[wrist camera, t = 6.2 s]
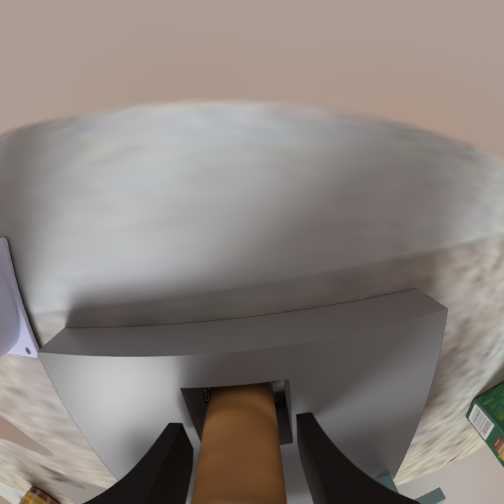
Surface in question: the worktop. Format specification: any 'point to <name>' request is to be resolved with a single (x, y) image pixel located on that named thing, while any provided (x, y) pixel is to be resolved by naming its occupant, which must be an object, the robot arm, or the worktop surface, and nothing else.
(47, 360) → the socket stand
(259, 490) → the peg
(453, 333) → the worktop surface
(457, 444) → the worktop surface
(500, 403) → the coffee box
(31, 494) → the sauce bottle
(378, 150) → the worktop surface
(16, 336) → the robot arm
